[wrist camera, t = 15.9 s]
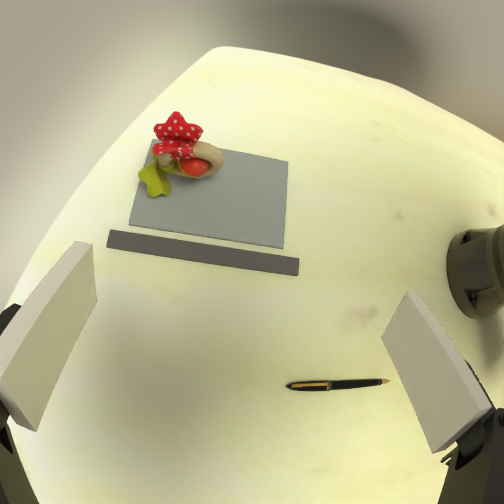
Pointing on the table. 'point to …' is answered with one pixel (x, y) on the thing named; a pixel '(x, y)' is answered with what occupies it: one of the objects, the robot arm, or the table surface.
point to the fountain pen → (334, 385)
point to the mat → (216, 214)
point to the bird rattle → (179, 155)
